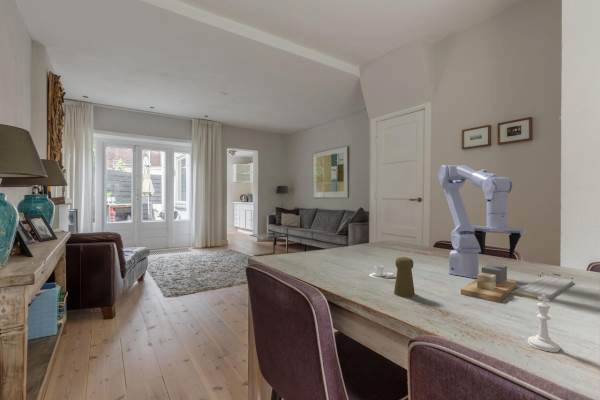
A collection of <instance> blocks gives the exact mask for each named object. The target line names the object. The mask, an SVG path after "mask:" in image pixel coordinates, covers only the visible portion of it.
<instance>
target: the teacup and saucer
mask: <svg viewBox="0 0 600 400" xmlns="http://www.w3.org/2000/svg"><path fill="white" fill-rule="evenodd" d="M372 270H373V272H372V273H369V275H368V276H369V277H370V278H374V279H380V280H381V279H382V280H385V279H390V278H393V277H395V273H394V272H385V265H382V264H380V265H374V266H373V267H372ZM373 275H376V276H373Z"/></svg>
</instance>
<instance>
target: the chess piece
mask: <svg viewBox="0 0 600 400" xmlns="http://www.w3.org/2000/svg"><path fill="white" fill-rule="evenodd" d="M538 299H539V300H538V301H541V300H542V301H541V302H538V303H537V304H536V306H537V309H538V312H539V313H537V315H536V318H538V319H539V327H538V333H537V334H536V335H533V336H531V335H530V336H529V337H528V338H527V344H528V345H530V346H531V347H533V348H535V349H537V350H540V351H545V352H548V351H549V353H557V352H560V351H561V347H560V344H558V342H556V341H554V340H553V339H552V338H551V337H550V336H549V329H548V321H550V320H551V317H550V316H548V313H549V310H550V308H551V305H550V304H548V303H549V302H550V299H546V295H542V297H538ZM546 302H547V303H546ZM559 350H560V351H559Z"/></svg>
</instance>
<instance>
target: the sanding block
mask: <svg viewBox="0 0 600 400" xmlns="http://www.w3.org/2000/svg"><path fill="white" fill-rule="evenodd" d="M481 273H488V274H494V275H496V286H501V285H502V284H504V283H505V282H506V281H507V280H508V278H507V277H508V266H507V265H502V264H496V263H488V264H486V265H484V266H482V267H481Z"/></svg>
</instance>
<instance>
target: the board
mask: <svg viewBox="0 0 600 400" xmlns="http://www.w3.org/2000/svg"><path fill="white" fill-rule="evenodd" d="M517 287H518V281H515V280H509V279H507V281H506V282H505V283H504V284H502V285H501V286H496V288H495V289H494V290H493V291H491V290H486V289H481V288H477V279H475V280H474V281H472V282H470V283H469V284H467V285H465V286H463V287H462V288H460V294H461V295H463V296H469V297H472V298H473V297H474V298H478V299H482V300H486V301H491V302H495V303H501V302H502V301H503V300H504V299H506V297H507V296H509V295H510V292H512V291H514V290H516V288H517Z"/></svg>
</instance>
